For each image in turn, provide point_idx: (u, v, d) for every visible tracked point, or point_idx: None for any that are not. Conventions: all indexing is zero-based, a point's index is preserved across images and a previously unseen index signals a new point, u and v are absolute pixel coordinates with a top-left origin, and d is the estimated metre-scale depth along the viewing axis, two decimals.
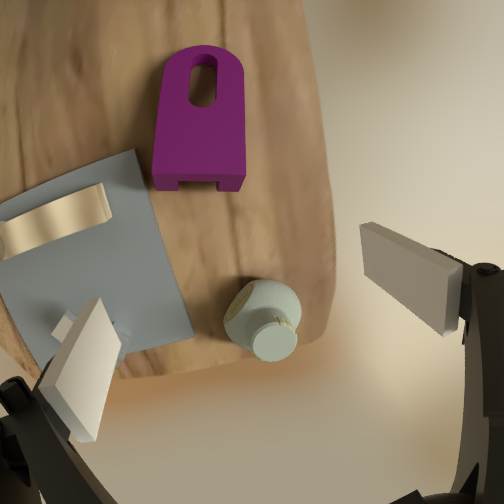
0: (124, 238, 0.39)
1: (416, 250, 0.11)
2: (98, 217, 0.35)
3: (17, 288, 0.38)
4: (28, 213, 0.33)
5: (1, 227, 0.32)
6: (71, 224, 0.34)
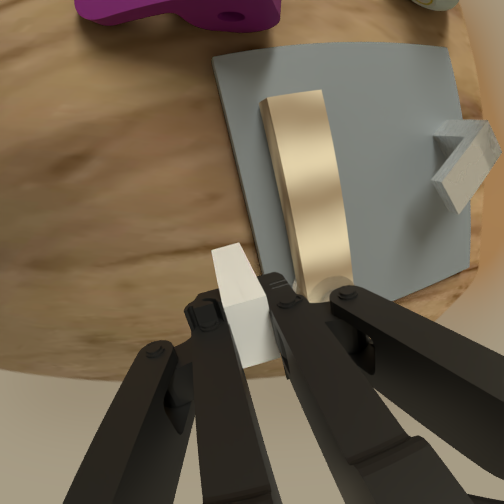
0: (336, 86, 0.26)
1: (241, 276, 0.13)
2: (314, 100, 0.23)
3: (381, 273, 0.33)
4: (296, 222, 0.26)
5: (308, 278, 0.27)
6: (321, 146, 0.24)
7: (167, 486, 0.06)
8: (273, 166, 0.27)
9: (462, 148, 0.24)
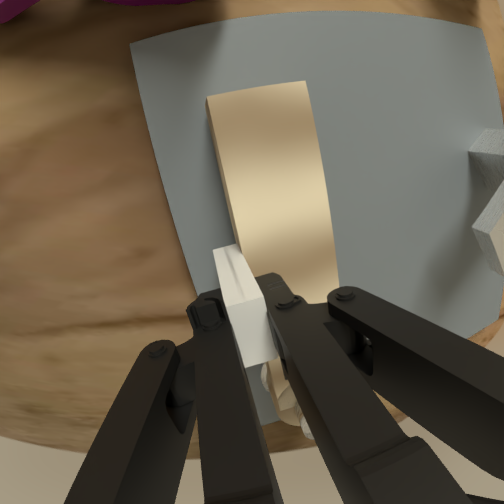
0: (327, 77, 0.16)
1: (238, 277, 0.13)
2: (293, 99, 0.13)
3: None
4: None
5: (279, 377, 0.18)
6: (302, 178, 0.14)
7: (169, 485, 0.06)
8: (228, 208, 0.17)
9: None
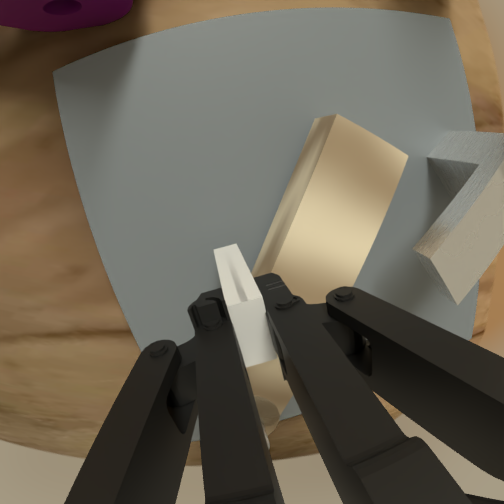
0: (248, 86, 0.16)
1: (237, 277, 0.13)
2: (392, 163, 0.15)
3: None
4: None
5: None
6: (360, 227, 0.15)
7: (170, 485, 0.06)
8: (277, 212, 0.17)
9: (475, 188, 0.13)
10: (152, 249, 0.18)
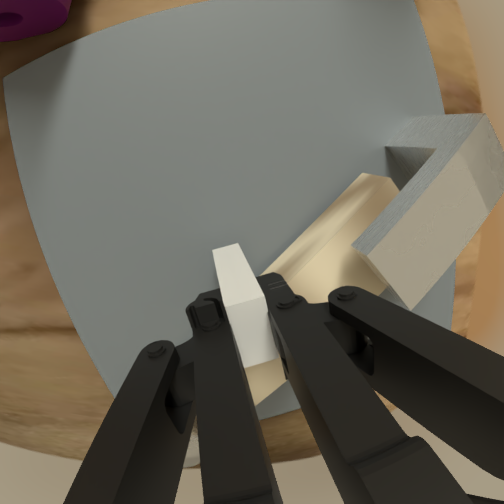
0: (178, 79, 0.15)
1: (239, 277, 0.13)
2: None
3: None
4: None
5: None
6: (366, 285, 0.16)
7: (169, 485, 0.06)
8: (295, 242, 0.18)
9: (428, 174, 0.12)
10: (88, 247, 0.17)
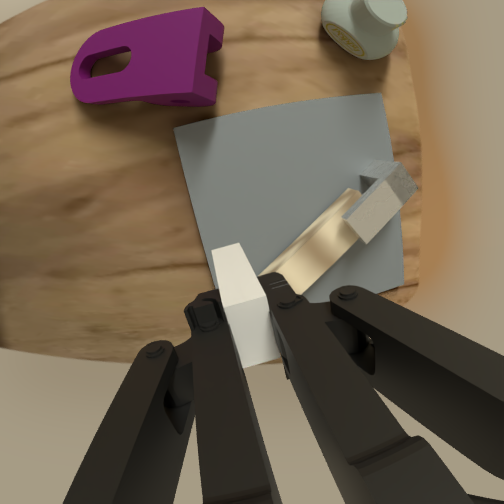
0: (269, 144, 0.37)
1: (241, 276, 0.13)
2: None
3: (312, 287, 0.43)
4: (299, 251, 0.38)
5: None
6: (349, 237, 0.38)
7: (167, 485, 0.06)
8: (317, 218, 0.40)
9: (372, 189, 0.34)
10: (223, 218, 0.39)
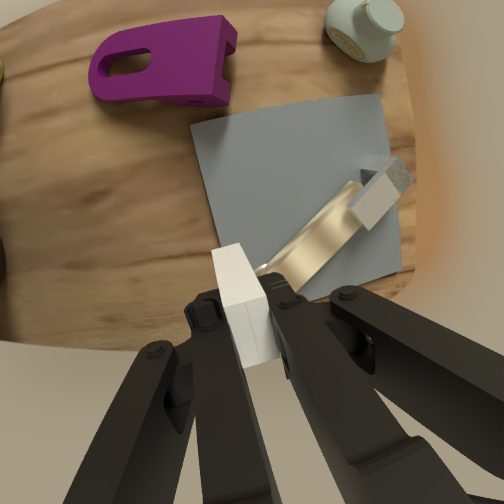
0: (278, 140, 0.40)
1: (241, 276, 0.13)
2: None
3: (318, 273, 0.46)
4: (308, 238, 0.41)
5: (280, 267, 0.41)
6: (352, 225, 0.41)
7: (167, 486, 0.06)
8: (323, 208, 0.43)
9: (373, 181, 0.37)
10: (236, 208, 0.42)
